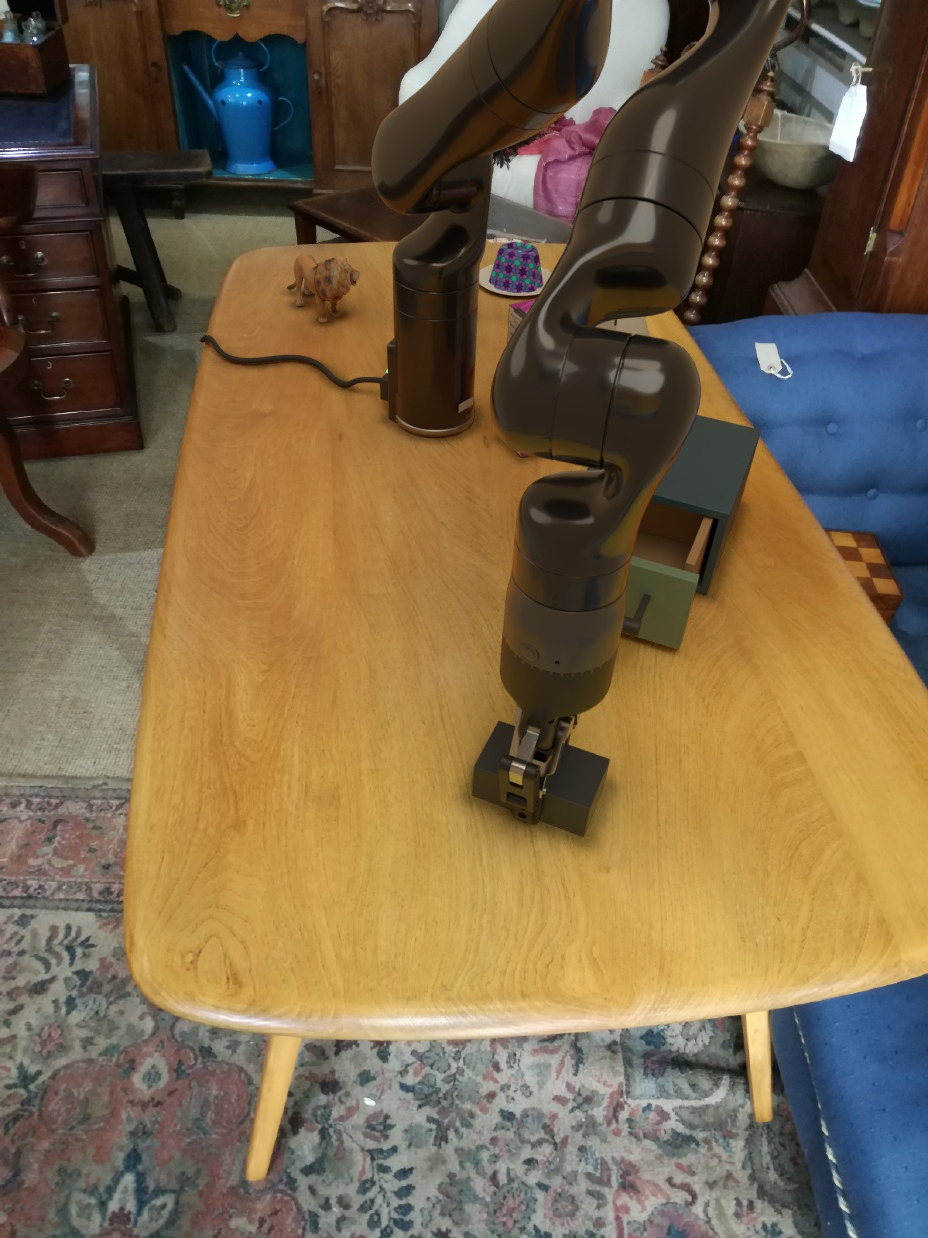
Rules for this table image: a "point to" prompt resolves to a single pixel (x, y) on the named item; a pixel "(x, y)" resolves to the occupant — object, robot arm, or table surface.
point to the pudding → (515, 271)
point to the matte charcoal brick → (567, 787)
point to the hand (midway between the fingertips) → (538, 787)
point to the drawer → (665, 573)
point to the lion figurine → (323, 281)
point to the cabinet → (710, 481)
